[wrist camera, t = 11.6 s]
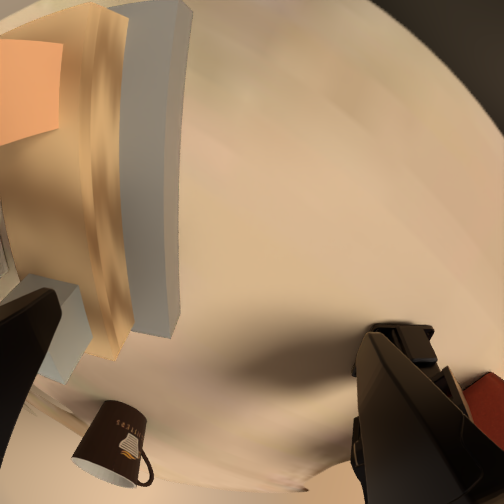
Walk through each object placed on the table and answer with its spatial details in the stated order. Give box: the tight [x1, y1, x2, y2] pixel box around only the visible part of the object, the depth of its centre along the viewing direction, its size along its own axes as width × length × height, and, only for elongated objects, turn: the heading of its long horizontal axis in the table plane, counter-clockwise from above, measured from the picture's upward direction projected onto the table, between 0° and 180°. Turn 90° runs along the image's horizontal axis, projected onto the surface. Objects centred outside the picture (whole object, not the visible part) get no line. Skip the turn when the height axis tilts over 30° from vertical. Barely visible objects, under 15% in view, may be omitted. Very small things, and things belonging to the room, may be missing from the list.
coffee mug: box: [71, 400, 154, 488], centre depth 30 cm, size 12×9×10 cm
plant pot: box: [462, 372, 504, 451], centre depth 23 cm, size 19×19×17 cm
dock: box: [107, 0, 193, 339], centre depth 17 cm, size 22×12×3 cm, turn 174°
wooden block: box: [0, 2, 135, 361], centre depth 14 cm, size 20×6×4 cm, turn 174°
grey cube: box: [0, 273, 93, 385], centre depth 13 cm, size 4×4×4 cm
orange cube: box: [0, 39, 63, 146], centre depth 8 cm, size 4×4×4 cm
